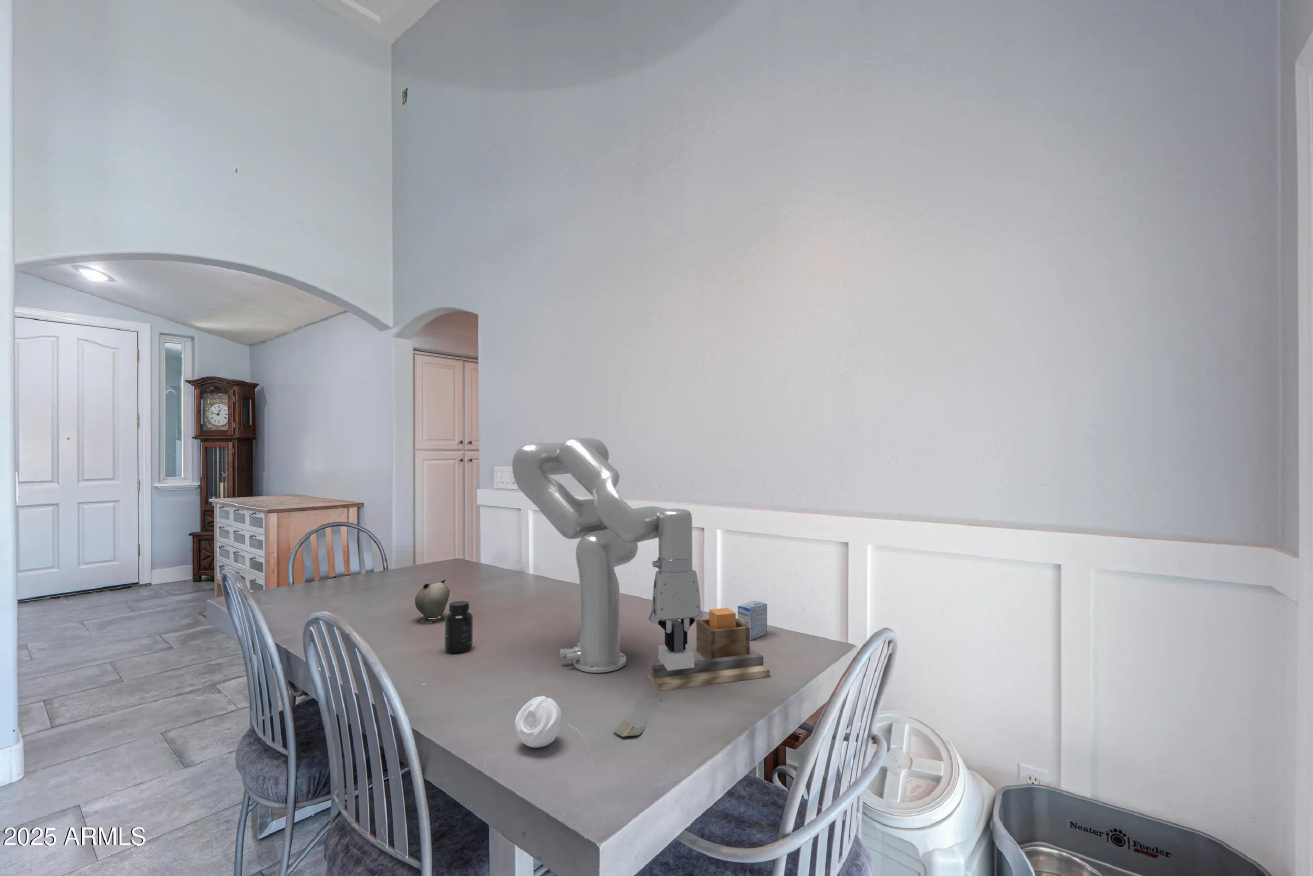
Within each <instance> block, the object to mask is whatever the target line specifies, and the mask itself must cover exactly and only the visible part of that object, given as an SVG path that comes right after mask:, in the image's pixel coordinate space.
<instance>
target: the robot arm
mask: <svg viewBox="0 0 1313 876" xmlns="http://www.w3.org/2000/svg"><path fill="white" fill-rule="evenodd" d="M609 454H610V453H609V450H608V446H606V444H605V443H604V442H603V441H601V440H599V439H597V438H592V437H591V438H590V437H572V438H568V439H566V440H564V441H562V442H561V443H560V442H559V443H558V442H533V443H532V442H531V443H528V444H525V445H522V446H520V447H519V448H517V450H516V451H515V452H514V455H513V457H512V463H511V468H512V469H511V470H512V476H513V479H514V481H515V484H516V485H517V487H518V489H519V490H520V491H521V492H522V493H523V495H525V497H526V498H527V499H528V500H529V501H530V502H532V504H534V506H535V507H536V508H537V509H538V511H540V513H541V514H542V515H543V516H544V517H545V519H547V520H548V521H549V523H550V524H551V525H552V526H553V527H554V528H555V530H557V531H558V533H559V534H560V535H561V536H562V537H563V538H565V539H568V540H576V539H579V541H578V543H577V545H576V547H575V560H576V566H577V570H578V579H579V580H578V581H579V642H576V643H577V644H576V645H577V646H573V648H560V650H559V653H560V654H559V657H560V658H566V660H573V661H572V662H573V667H575V668H576V669H577V670H578V671H582V672H585V673H594V674H595V673H596V674H598V673H599V674H600V673H608V672H613V671H617V670H619V669H621V668H623V667H624V666H626V664H627V656H626V655H625V654H624V653H623V652H621V647H620V646H621V635H620V634H621V629H620V628H621V626H620V625H621V622H620V621H621V620H620V618H621V614H620V611H621V607H620V606H621V602H620V601H621V599H620V592H621V591H620V583H619V580H618V576H617V574H616V570H615V568H617V567H619V566H623V565H625V564H629V563H630V562H631V561H633V559H634V558H635V557H636V555H637V553H638V550H639V545H638V544H639V543H641V542H645V541H651V540H654V539H655V540H656V539H658V556H657V559H656V560H652V567H653V568H656V569H658V570H656V571H655V574H654V580H653V588H652V599H651V601H652V602H651V603H652V606H651V608H652V609H651V611H650V613H649V616H648V621H649V622H650V623H651V624H654V625H657V626H660V627H661V628H662V630H663V631H664V645H665V646H666V647H667V648H668V649H669V650H670V651H673V650H674V633H673V632H672V620H676V619H678V620H679V621H680V622H681V623H682V624H683V650H686V646H687V645H688V632H689V631H690V628H691V627H692V626H693V624H694V623H696V621H697V620H699V619H703V617H704V616H703V612H702V610H701V608H702V607H701V596H700V595H701V594H700V593H701V592H700V585H699V577H698V574H697V571H696V570H695V569H693V515H692V513H691V511H690V510H689V509H685V508H684V509H683V508H664V507H660V506H656V505H653V506H652V505H650V506H642V507H637V508H633V507H632V506H630V505H629V504H628V503H627V502H626V501H625V500H624V499H623V498H622V497H621V496H620V494H618V492H617V490H616V487H617V486H618V484H619V482H620V473H619V471H618V470H617V469H616V468H615V467H614V466H612V464H610V463H609V458H610V455H609ZM558 475H570V476H571V477H572V478H573V479H574V480H575V481H577V482H578V484H579V485H580V486H582V487H583V488H584V489H585V490H586V491H587V492H588V493H589V494H590V495H591V497H592V498H586V499H580V498H576V496H574V495H573V494H572V493H571V492H570V491H569V490H568V489H567V488H566V487H565V486H564V484H562V483H561V482H559V481H557V480H556V479H554V477H553V478H552V477H551V476H558Z"/></svg>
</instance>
